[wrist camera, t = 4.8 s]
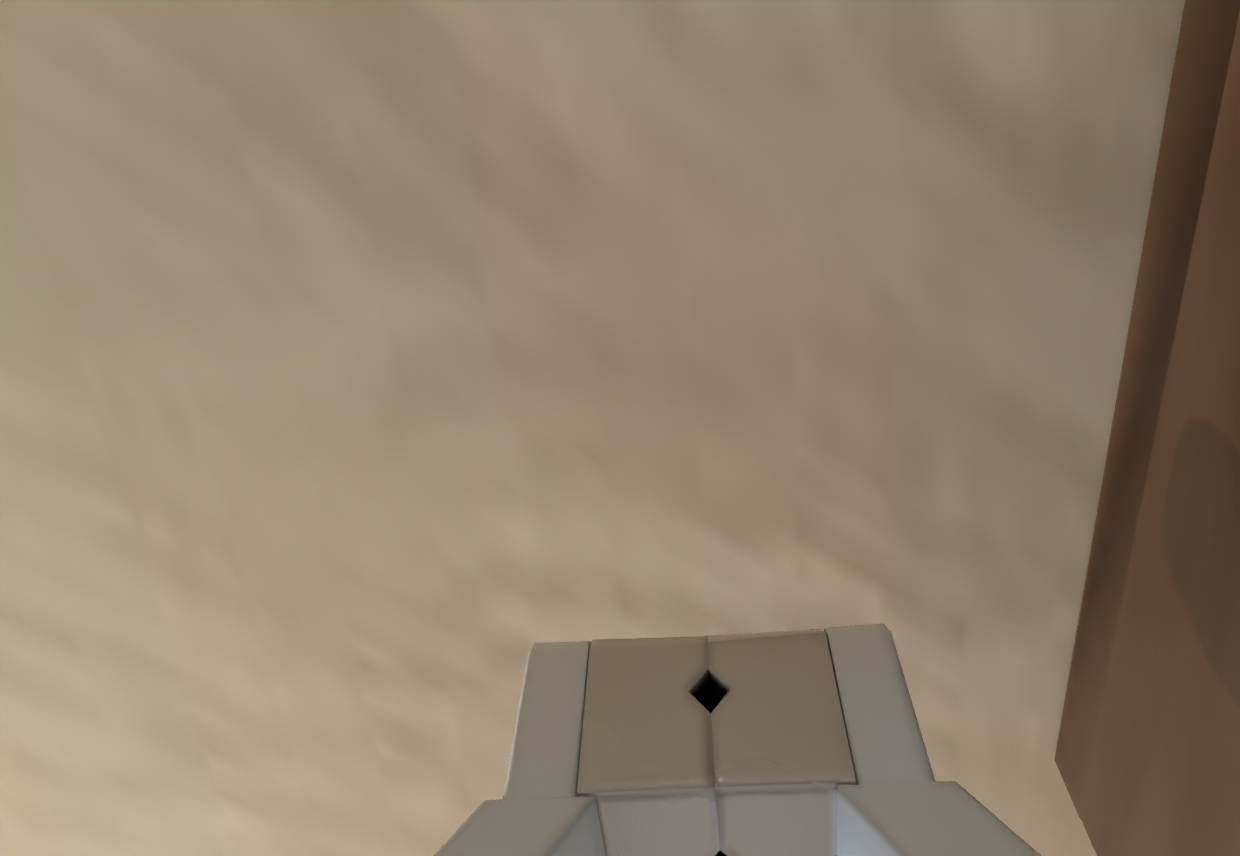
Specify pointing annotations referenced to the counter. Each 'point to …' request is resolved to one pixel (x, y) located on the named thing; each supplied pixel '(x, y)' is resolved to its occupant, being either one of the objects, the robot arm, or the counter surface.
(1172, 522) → the tray
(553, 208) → the counter surface
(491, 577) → the counter surface
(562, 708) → the robot arm
